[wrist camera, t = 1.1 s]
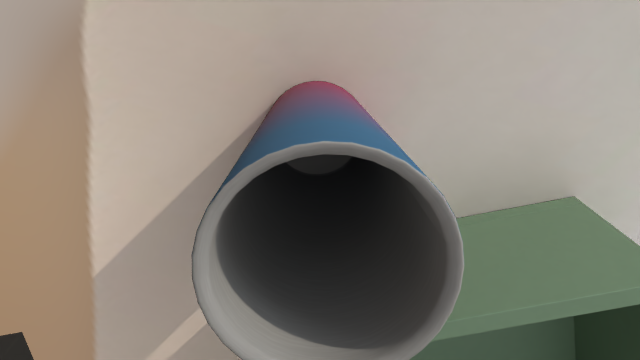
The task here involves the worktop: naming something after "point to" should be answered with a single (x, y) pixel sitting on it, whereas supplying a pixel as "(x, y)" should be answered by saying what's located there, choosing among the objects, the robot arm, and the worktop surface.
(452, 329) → the bin
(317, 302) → the cup
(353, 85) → the worktop surface
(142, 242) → the worktop surface
